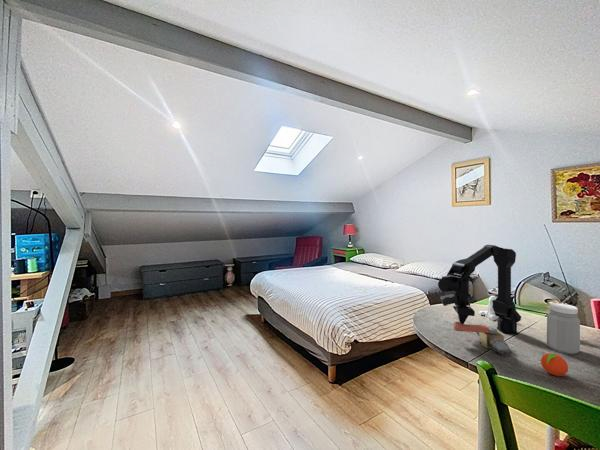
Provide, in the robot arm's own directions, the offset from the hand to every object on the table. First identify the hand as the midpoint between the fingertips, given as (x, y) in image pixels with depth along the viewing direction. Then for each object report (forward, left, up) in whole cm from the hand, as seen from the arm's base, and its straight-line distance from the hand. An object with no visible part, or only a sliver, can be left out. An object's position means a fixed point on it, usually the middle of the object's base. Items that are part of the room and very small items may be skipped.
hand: (461, 324), depth 121 cm
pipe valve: (-9, +6, -6) cm, 13 cm away
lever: (-3, +6, -1) cm, 6 cm away
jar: (-36, +5, -6) cm, 37 cm away
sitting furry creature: (-26, -30, -6) cm, 41 cm away
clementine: (-19, +26, -6) cm, 33 cm away
